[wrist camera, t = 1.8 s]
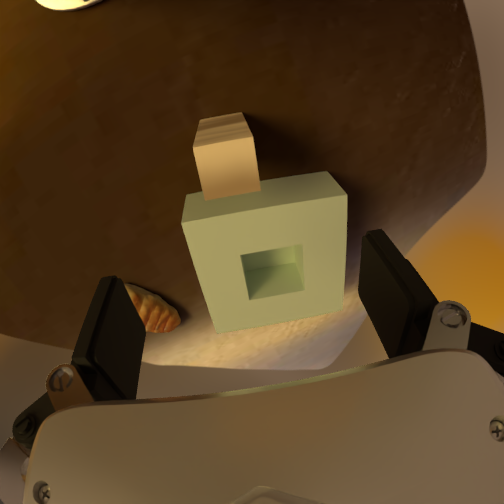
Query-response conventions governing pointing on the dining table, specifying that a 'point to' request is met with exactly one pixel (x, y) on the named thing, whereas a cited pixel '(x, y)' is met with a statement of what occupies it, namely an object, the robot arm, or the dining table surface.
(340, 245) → the well block
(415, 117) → the dining table surface
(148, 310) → the pastry
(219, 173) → the birch block
